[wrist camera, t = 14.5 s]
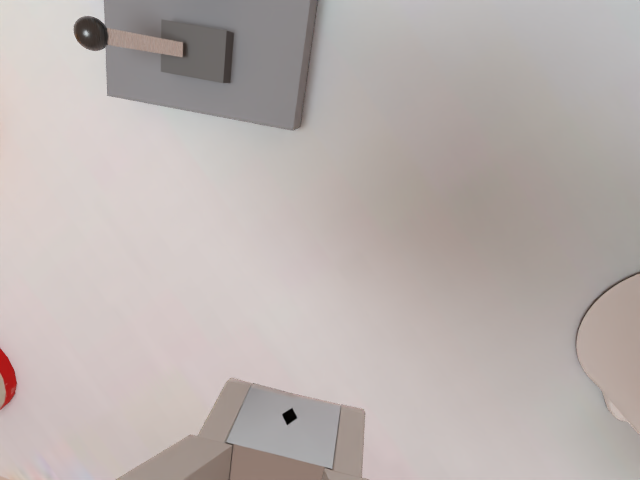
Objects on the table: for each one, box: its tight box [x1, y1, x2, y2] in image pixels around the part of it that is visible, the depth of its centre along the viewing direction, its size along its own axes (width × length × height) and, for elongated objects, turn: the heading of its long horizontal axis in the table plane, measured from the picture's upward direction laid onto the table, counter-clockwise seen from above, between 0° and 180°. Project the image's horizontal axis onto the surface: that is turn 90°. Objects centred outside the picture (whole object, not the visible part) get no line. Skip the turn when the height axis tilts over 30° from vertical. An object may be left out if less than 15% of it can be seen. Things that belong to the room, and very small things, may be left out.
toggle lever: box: [74, 16, 183, 57], centre depth 28 cm, size 2×2×7 cm
